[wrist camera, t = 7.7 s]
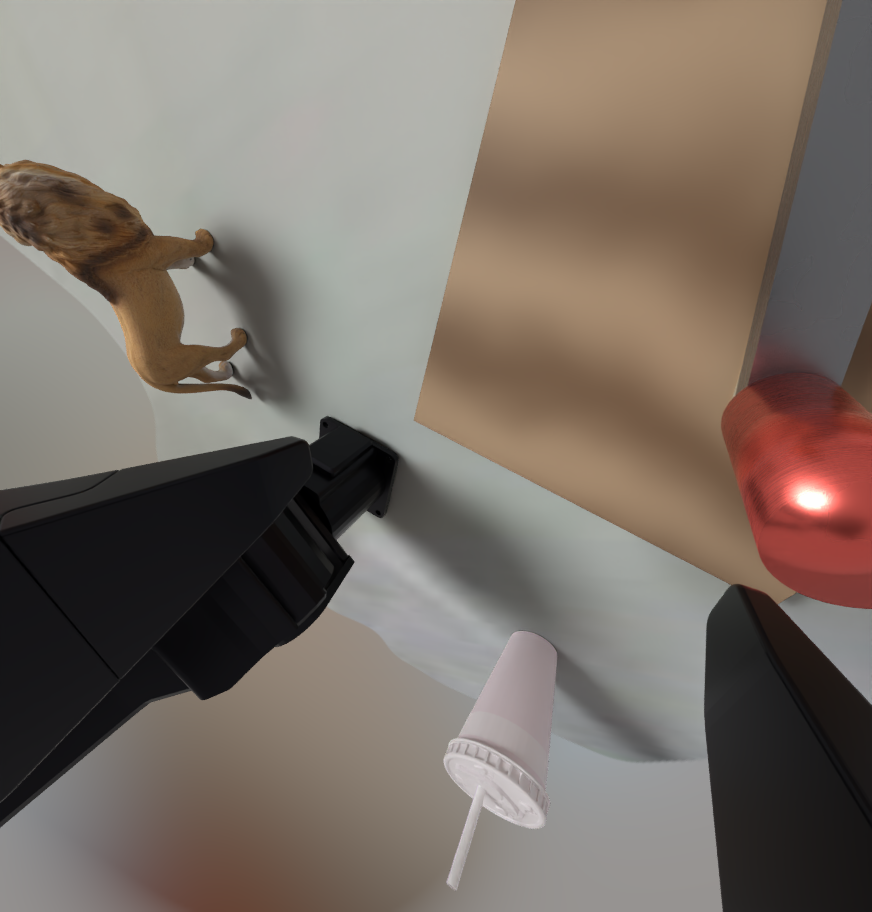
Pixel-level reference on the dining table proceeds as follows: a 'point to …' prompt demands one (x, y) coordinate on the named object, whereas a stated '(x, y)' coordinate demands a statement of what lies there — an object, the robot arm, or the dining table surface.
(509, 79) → the press board
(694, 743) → the dining table surface
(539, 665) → the smoothie
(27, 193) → the lion figurine
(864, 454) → the lever
